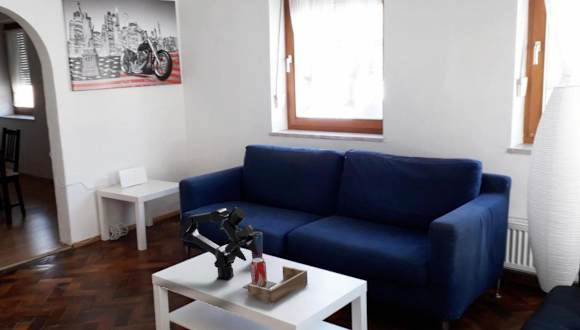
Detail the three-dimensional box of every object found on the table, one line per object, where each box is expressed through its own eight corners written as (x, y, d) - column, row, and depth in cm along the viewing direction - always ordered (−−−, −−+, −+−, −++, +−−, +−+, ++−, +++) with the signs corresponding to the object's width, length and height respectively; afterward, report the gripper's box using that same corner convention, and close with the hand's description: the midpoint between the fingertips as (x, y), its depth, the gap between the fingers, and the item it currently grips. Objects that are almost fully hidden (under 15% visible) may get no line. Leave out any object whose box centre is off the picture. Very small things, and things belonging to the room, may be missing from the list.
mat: (242, 287, 249) (242, 286, 249) (257, 279, 257) (257, 278, 257) (261, 292, 242) (261, 291, 242) (276, 283, 251) (276, 283, 251)
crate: (248, 297, 237) (247, 284, 236) (284, 277, 258) (284, 265, 257) (272, 304, 229) (271, 290, 228) (307, 283, 250) (307, 270, 249)
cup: (250, 259, 285) (249, 232, 282) (263, 258, 285) (262, 231, 283) (251, 264, 278) (249, 236, 276) (264, 263, 279) (262, 235, 276)
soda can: (265, 288, 246) (263, 262, 244) (249, 287, 247) (248, 262, 245) (268, 282, 252) (267, 257, 250) (254, 281, 254) (252, 256, 252)
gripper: (229, 225, 243) (249, 253, 238) (254, 216, 258) (273, 242, 254) (216, 239, 248) (235, 267, 244) (241, 230, 264) (260, 256, 259)
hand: (251, 257), depth 250 cm, fingers open, 9 cm apart
